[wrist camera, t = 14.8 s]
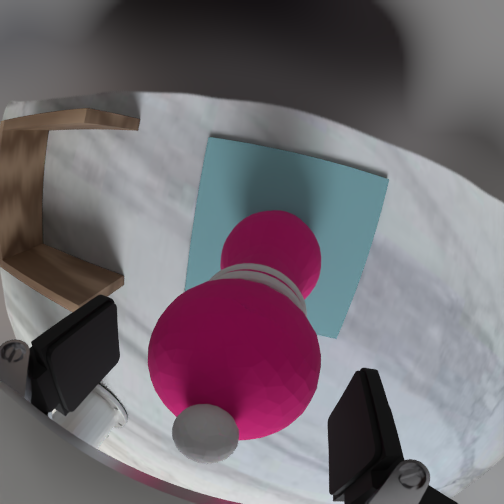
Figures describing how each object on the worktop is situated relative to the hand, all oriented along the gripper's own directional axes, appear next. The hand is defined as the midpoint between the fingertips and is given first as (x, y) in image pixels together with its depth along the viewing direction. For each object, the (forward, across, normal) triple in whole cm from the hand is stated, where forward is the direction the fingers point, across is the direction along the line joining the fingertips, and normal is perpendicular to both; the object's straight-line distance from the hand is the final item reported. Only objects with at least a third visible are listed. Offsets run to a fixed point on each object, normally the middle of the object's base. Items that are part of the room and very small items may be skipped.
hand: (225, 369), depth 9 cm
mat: (+16, -1, -1) cm, 16 cm away
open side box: (+17, +23, -1) cm, 29 cm away
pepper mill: (+16, 0, -1) cm, 16 cm away
